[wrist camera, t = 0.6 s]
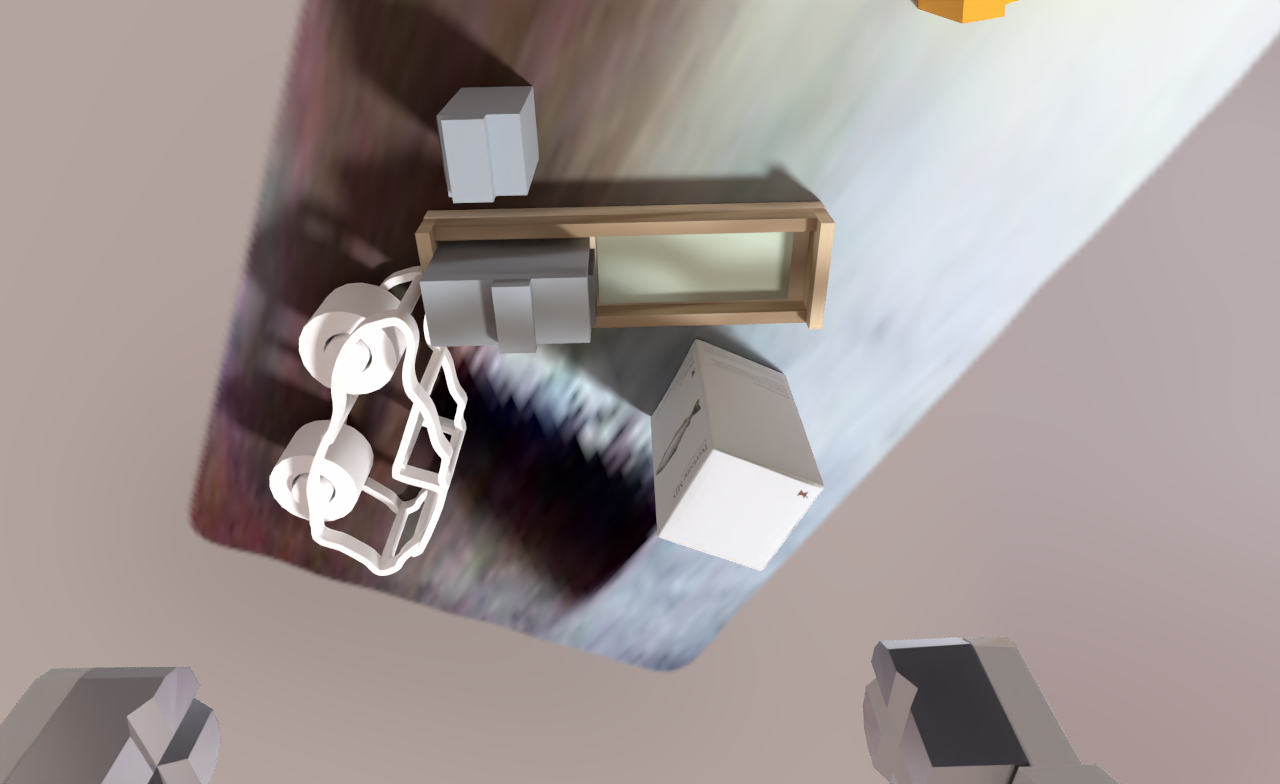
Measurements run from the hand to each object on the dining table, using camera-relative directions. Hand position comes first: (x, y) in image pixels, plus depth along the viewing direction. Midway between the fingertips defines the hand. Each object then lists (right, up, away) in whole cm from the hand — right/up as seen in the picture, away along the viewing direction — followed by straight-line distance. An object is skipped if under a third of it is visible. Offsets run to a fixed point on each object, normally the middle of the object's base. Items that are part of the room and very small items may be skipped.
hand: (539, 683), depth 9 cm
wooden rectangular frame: (0, +12, +39) cm, 41 cm away
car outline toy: (-16, +4, +44) cm, 47 cm away
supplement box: (+7, +3, +45) cm, 46 cm away
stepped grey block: (-7, +19, +35) cm, 40 cm away
